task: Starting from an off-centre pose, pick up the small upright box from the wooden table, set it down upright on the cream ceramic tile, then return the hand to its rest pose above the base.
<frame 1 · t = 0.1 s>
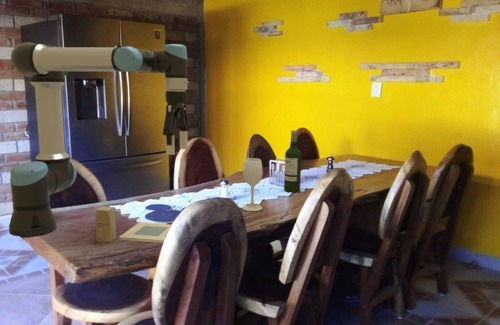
hand: (177, 151, 155), 28 cm above the table, fingers open, 13 cm apart
wine bottle: (292, 191, 217), on the table
wineglass: (252, 208, 186), on the table
tile: (151, 233, 153), on the table
box: (106, 240, 146), on the table
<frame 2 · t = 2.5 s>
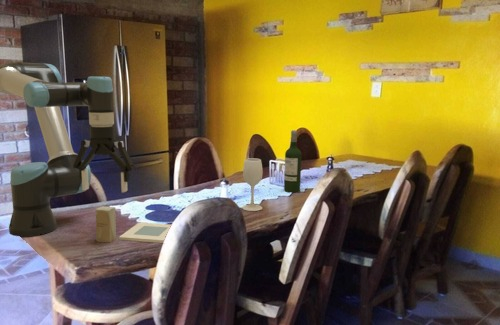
hand: (105, 190, 143), 17 cm above the table, fingers open, 13 cm apart
nothing on the table moved.
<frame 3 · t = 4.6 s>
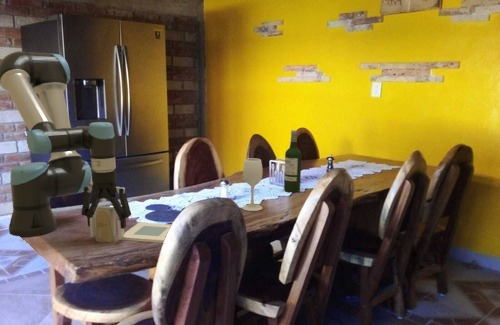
hand: (107, 236, 146), 1 cm above the table, fingers open, 9 cm apart
nothing on the table moved.
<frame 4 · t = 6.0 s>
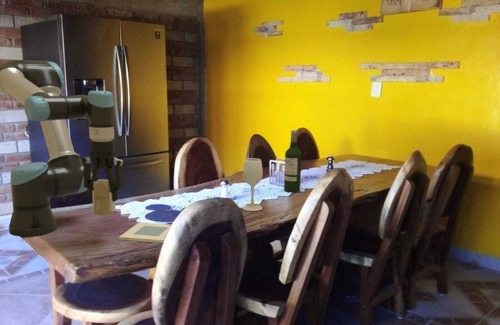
hand: (104, 209, 145), 10 cm above the table, fingers closed on box, 5 cm apart
box: (104, 213, 145), point 9 cm above the table, touching gripper
everything else where it was.
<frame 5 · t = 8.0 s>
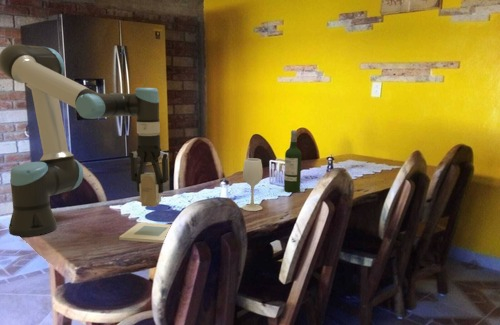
hand: (150, 201, 151), 12 cm above the table, fingers closed on box, 5 cm apart
box: (150, 205, 151), point 10 cm above the table, touching gripper
everything else where it was.
when the fingers open (2 cm above the table, at t = 10.2 s): box stays where it is, resting on tile.
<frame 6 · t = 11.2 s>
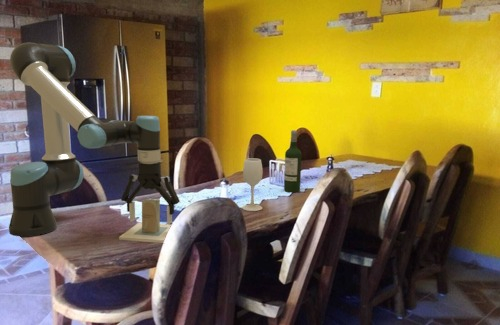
hand: (150, 222, 152), 4 cm above the table, fingers open, 13 cm apart
box: (151, 231, 152), point 1 cm above the table, touching tile
everything else where it was.
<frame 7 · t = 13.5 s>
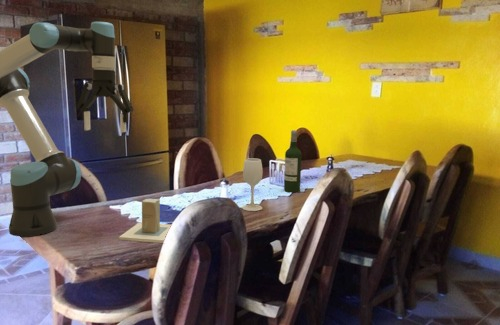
hand: (105, 131, 154), 35 cm above the table, fingers open, 13 cm apart
nothing on the table moved.
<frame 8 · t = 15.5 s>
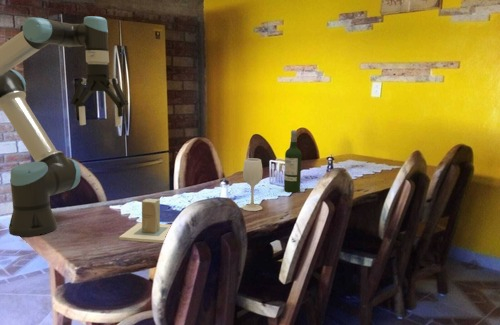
hand: (100, 125, 155), 37 cm above the table, fingers open, 13 cm apart
nothing on the table moved.
at the end: box inside the target area on the tile (0.2 cm from its centre), point 0.9 cm above the tile's base; box tilted 0°; the gripper is holding nothing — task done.
